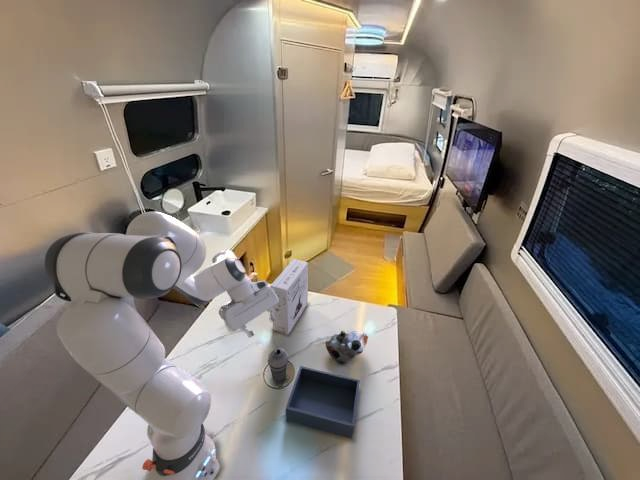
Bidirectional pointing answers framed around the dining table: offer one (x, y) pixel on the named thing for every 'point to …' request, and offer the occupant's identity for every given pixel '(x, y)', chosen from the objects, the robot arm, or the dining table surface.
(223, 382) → the dining table surface
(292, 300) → the cereal box
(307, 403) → the blue open storage box
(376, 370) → the dining table surface
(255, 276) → the candy box
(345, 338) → the lucky cat figurine
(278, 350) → the beverage cup
